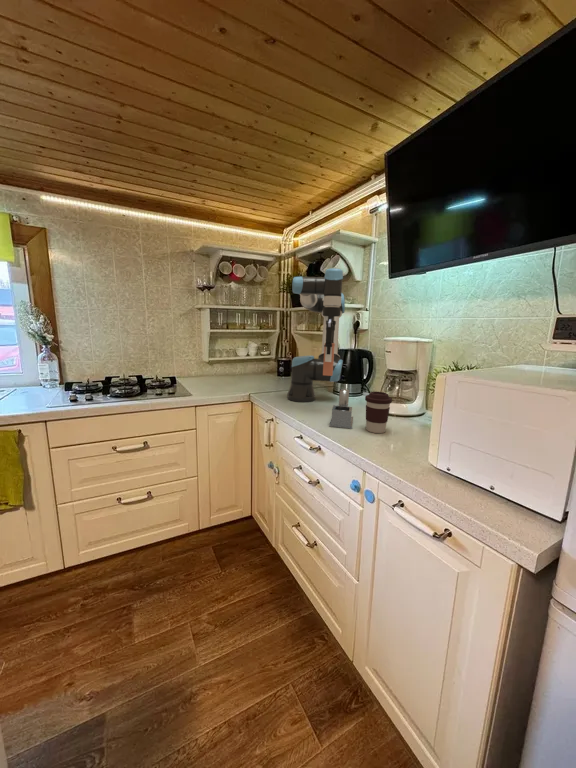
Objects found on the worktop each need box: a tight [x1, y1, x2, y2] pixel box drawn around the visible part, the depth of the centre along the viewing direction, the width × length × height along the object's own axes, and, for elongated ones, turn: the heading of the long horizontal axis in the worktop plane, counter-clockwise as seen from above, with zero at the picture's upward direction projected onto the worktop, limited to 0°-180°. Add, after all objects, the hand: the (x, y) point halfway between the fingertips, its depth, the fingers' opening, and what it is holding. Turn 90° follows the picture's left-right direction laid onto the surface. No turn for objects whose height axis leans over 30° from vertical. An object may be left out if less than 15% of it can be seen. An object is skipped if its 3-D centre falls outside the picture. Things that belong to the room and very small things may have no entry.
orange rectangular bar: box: [323, 343, 335, 376], centre depth 141 cm, size 4×4×14 cm
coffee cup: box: [364, 391, 393, 434], centre depth 124 cm, size 10×10×15 cm
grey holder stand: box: [328, 388, 354, 430], centre depth 133 cm, size 16×9×13 cm, turn 167°
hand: (328, 361), depth 141 cm, fingers closed on orange rectangular bar, 4 cm apart
